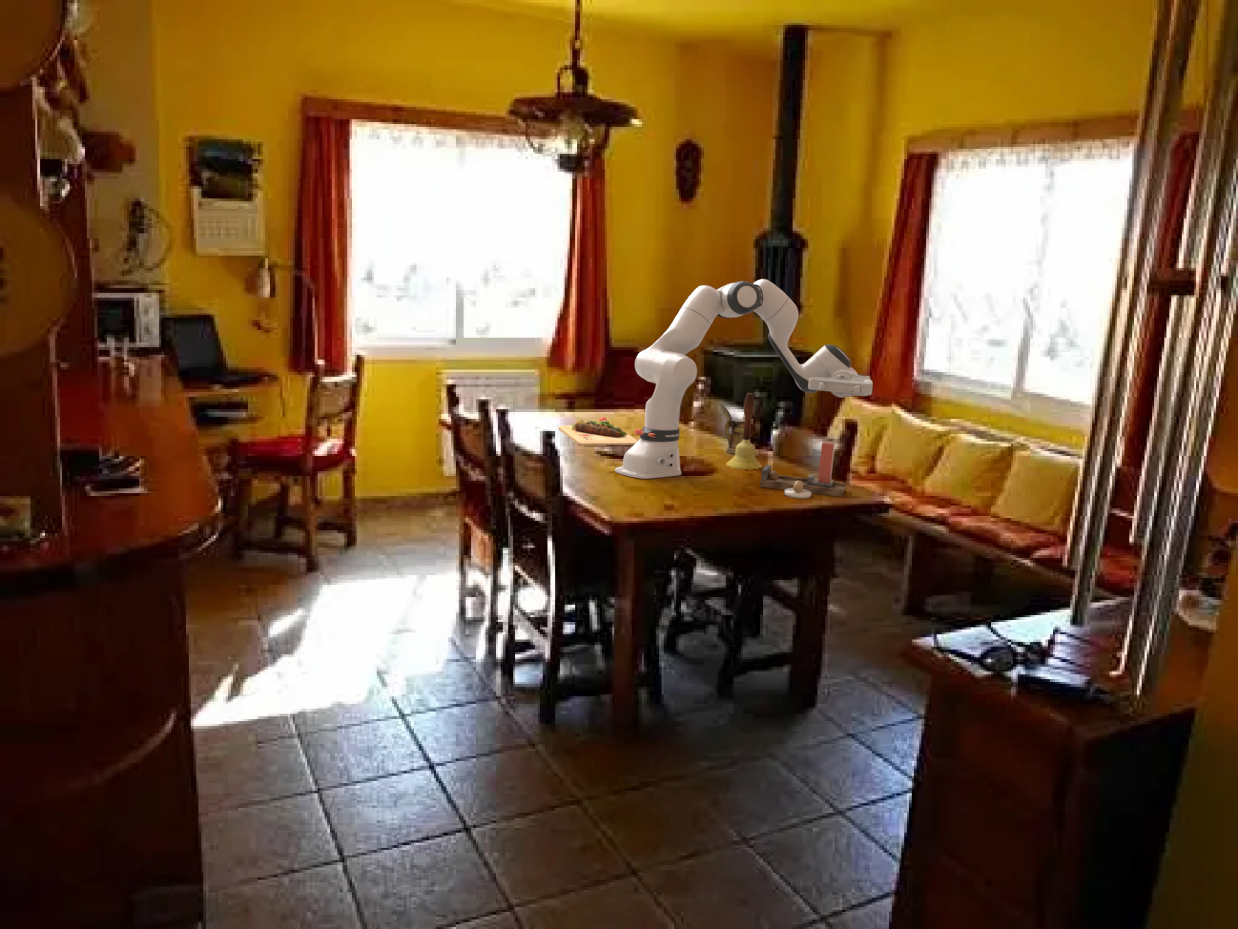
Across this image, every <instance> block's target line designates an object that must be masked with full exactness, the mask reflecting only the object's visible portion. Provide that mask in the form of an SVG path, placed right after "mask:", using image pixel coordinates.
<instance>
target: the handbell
mask: <svg viewBox="0 0 1238 929" xmlns="http://www.w3.org/2000/svg"><path fill="white" fill-rule="evenodd" d="M754 410H755V399H754V393H752V392H747V393H746V396H745V399H744V404H743V414H744V422H745V423H744V435H743V441H742V442H741V443H739V444H738V445H737V446H736V451H735V455H733V457H732V458H731V459H730V460H729V461H727V462H726V463H725V465H726V466H727V467H728V466H730V467H729V468H731V467H732V468H731V469H735V468H736V469H737V470H743V469H748V470H747V471H753V470H752V469H757V470H759V469H758V468H761V467H762V468H763V465H762V464H761V463H760V462H759V461H758V460H757V459H756V447H755V445H754V444H752V443H751V432H750V428H751V427H752V426H751V424H752V416H753V415H754ZM749 439H750V440H749ZM762 468H761V469H762ZM736 469H735V470H736Z"/></svg>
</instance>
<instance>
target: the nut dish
mask: <svg viewBox="0 0 1238 929" xmlns="http://www.w3.org/2000/svg"><path fill="white" fill-rule="evenodd" d="M803 487H804V484H803V482H802V481H796V482H795V483H794V485H793V488H788V489H785V490H784V496H786V497H789V498H792V499H809V498H811V497H812V493H811V491H809V490H805V489H803Z"/></svg>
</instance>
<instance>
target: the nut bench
mask: <svg viewBox="0 0 1238 929" xmlns="http://www.w3.org/2000/svg"><path fill="white" fill-rule="evenodd" d="M807 478H808V477H798V476H791V475H784V474H779V473H778V472H777V471H776V470H772V465H771V464H766V465H765V466H764V467H762V468H761V478H760V482H759V483H760V484H759V487H761V488H767V489H768V488H769V489H777V490H784V491H785V489H788V488H793V485H794V483H795V482H796V481H802V482H803V484H804V487H803V489H805V490H809V491H811V494H815V495H816V494H817V495H825V496H831V497H839V498H841V497H843V495H844V492H845V490H846V482H839V481H834V485H833V487H832V488H828V487H820V486H812V485H807Z"/></svg>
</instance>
